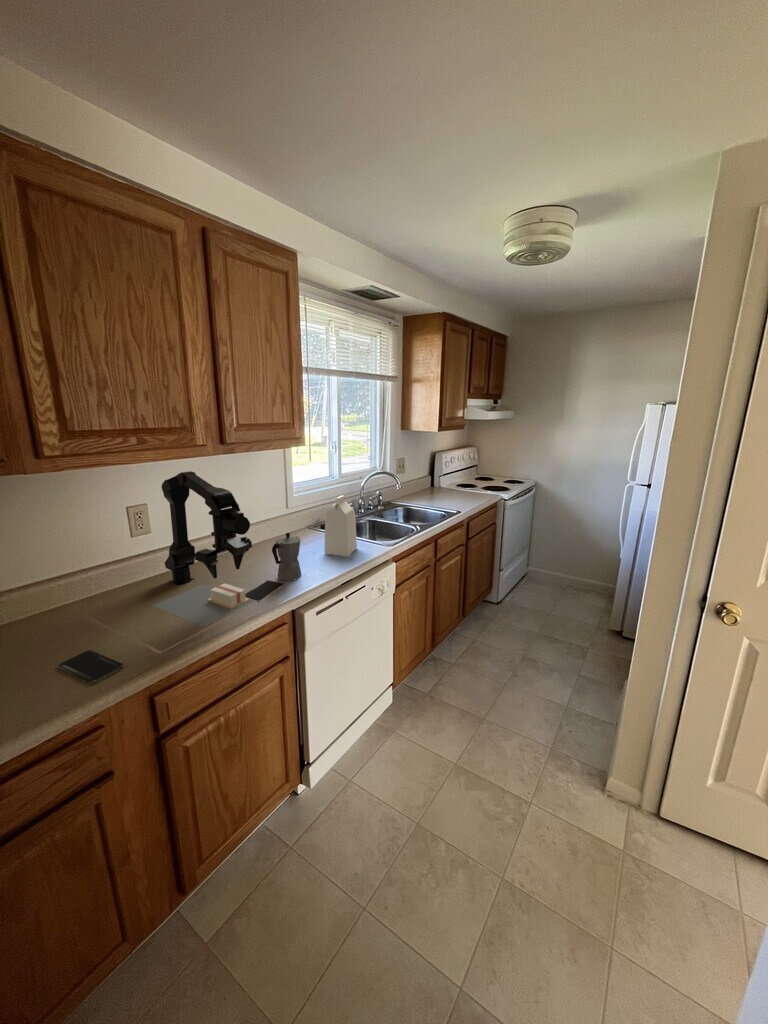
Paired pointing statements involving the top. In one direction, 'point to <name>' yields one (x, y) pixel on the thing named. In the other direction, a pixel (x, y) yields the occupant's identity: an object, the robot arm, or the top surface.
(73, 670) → the phone
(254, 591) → the smartphone
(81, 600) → the top surface
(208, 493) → the robot arm
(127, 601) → the top surface
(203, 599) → the mat
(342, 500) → the milk
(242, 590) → the card box
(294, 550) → the coffeepot
